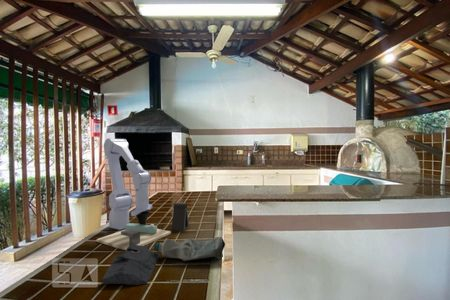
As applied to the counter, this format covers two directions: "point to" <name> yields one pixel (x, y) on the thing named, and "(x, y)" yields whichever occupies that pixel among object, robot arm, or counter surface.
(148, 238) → the keeper board
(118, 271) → the dark grey cloth
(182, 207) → the phone stand
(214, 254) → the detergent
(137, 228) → the link
